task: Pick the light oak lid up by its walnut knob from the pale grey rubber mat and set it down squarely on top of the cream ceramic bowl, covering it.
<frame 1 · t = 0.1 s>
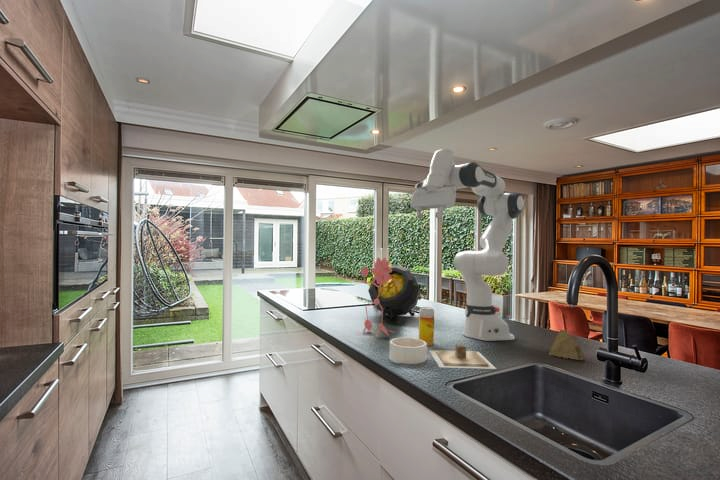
hand: (428, 217, 146), 52 cm above the worktop, tool tilted 20°, fingers open, 8 cm apart
bowl: (407, 358, 133), on the worktop
cauldron: (395, 317, 209), on the worktop
beer can: (426, 344, 153), on the worktop
rock: (566, 358, 139), on the worktop
figurine: (380, 334, 169), on the worktop
mat: (460, 360, 133), on the worktop
lid: (460, 359, 133), resting on mat
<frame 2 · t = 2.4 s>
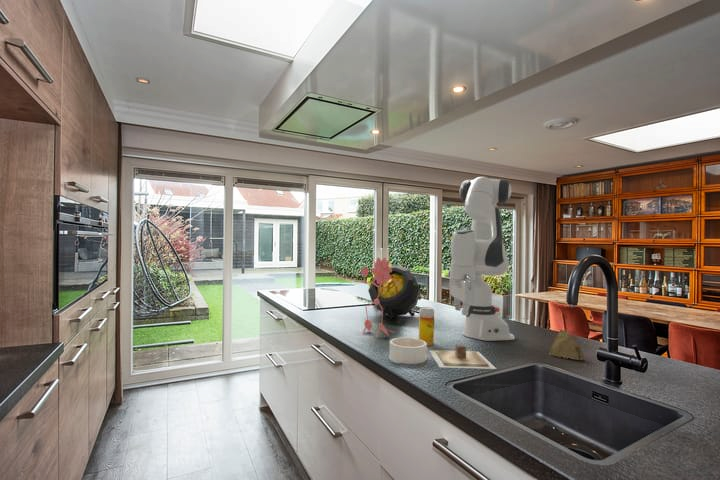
hand: (461, 312, 132), 17 cm above the worktop, tool pointing down, fingers open, 8 cm apart
nothing on the worktop moved.
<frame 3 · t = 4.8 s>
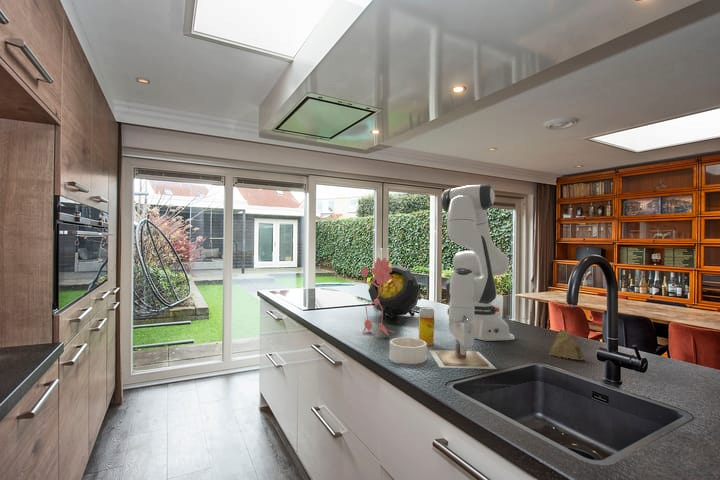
hand: (460, 352, 133), 3 cm above the worktop, tool pointing down, fingers closed on lid, 3 cm apart
lid: (460, 358, 133), resting on mat, touching gripper
everything else where it was.
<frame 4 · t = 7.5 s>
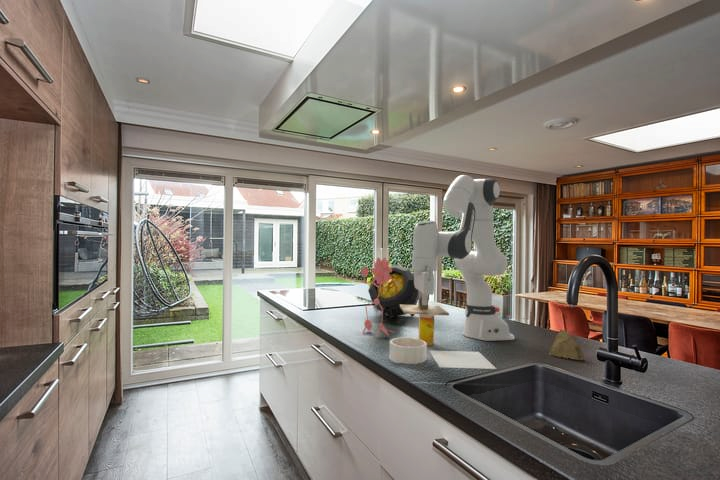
hand: (423, 304, 132), 20 cm above the worktop, tool pointing down, fingers closed on lid, 3 cm apart
lid: (422, 310, 132), point 18 cm above the worktop, touching gripper
everything else where it was.
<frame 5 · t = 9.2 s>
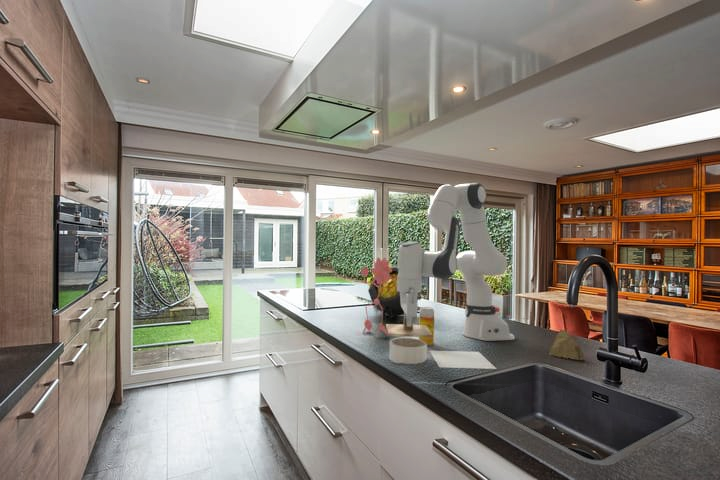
hand: (408, 324, 133), 12 cm above the worktop, tool pointing down, fingers closed on lid, 3 cm apart
lid: (407, 331, 133), point 10 cm above the worktop, touching gripper
everything else where it was.
when the fingers open (10 cm above the worktop, at t = 10.4 s): lid drops 1 cm, resting on bowl.
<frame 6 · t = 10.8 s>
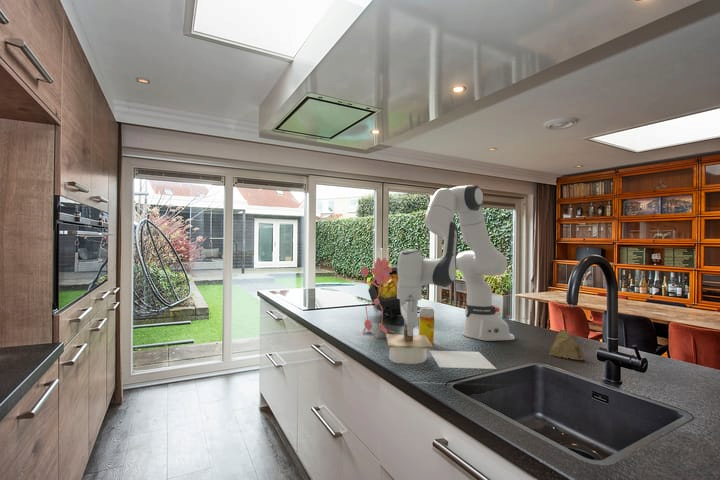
hand: (408, 332, 133), 10 cm above the worktop, tool pointing down, fingers open, 7 cm apart
lid: (408, 342, 133), point 6 cm above the worktop, touching bowl
everything else where it was.
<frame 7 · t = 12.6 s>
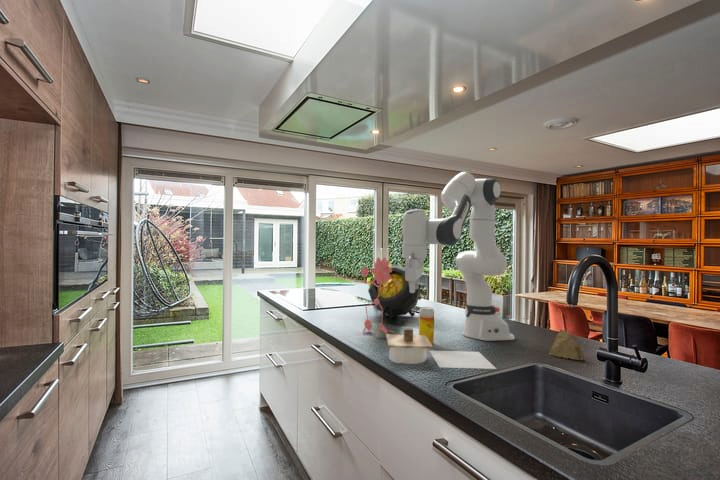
hand: (414, 290, 135), 24 cm above the worktop, tool pointing down, fingers open, 8 cm apart
nothing on the worktop moved.
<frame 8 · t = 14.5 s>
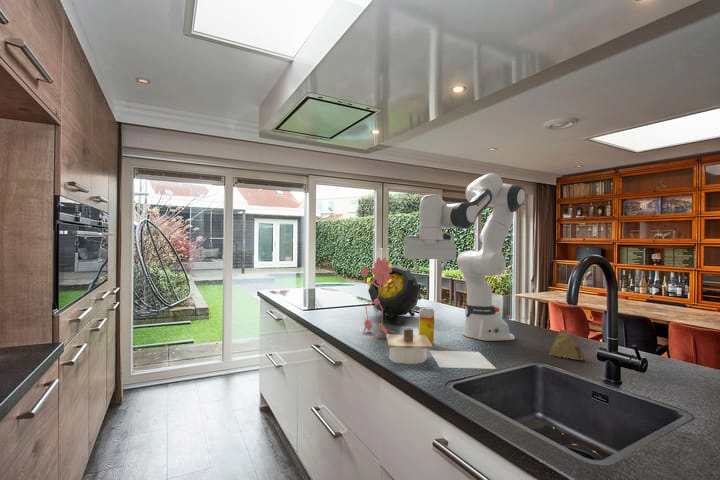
hand: (429, 270, 144), 31 cm above the worktop, tool pointing down, fingers open, 8 cm apart
nothing on the worktop moved.
at the end: lid 0.1 cm off-centre on the bowl, point 6.0 cm above the bowl's base; lid tilted 0°; the gripper is holding nothing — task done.
